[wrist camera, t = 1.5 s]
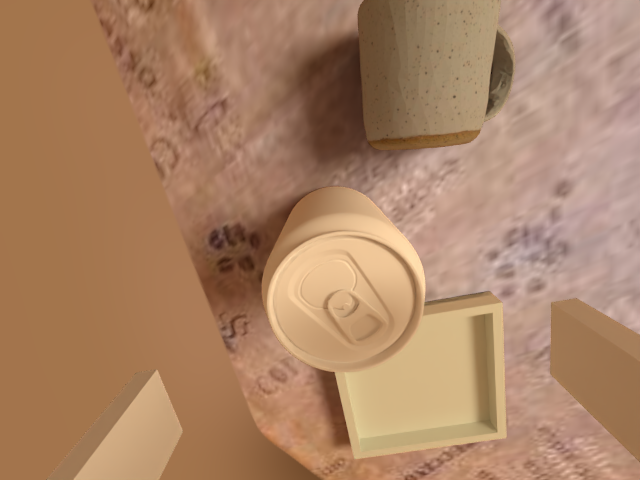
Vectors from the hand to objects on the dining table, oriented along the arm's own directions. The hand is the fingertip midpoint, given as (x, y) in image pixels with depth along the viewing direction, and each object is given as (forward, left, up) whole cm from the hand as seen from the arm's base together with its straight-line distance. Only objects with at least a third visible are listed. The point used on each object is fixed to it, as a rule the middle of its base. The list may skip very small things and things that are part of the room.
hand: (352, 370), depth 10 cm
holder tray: (+15, +5, -16) cm, 22 cm away
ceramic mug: (-10, +9, -16) cm, 21 cm away
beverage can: (0, 0, -16) cm, 16 cm away
